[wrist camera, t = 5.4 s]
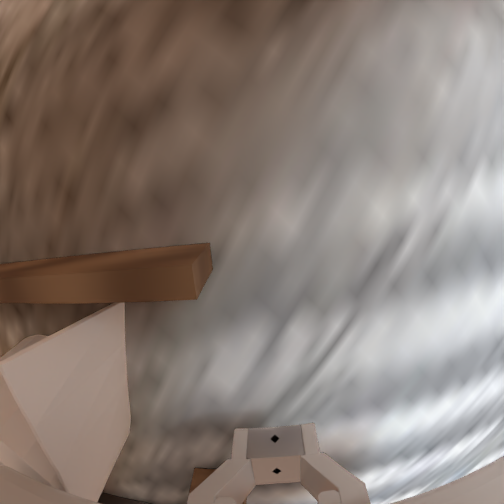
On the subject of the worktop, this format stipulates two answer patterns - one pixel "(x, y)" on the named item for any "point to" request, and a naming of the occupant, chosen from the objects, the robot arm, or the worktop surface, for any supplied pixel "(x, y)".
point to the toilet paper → (67, 404)
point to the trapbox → (112, 288)
